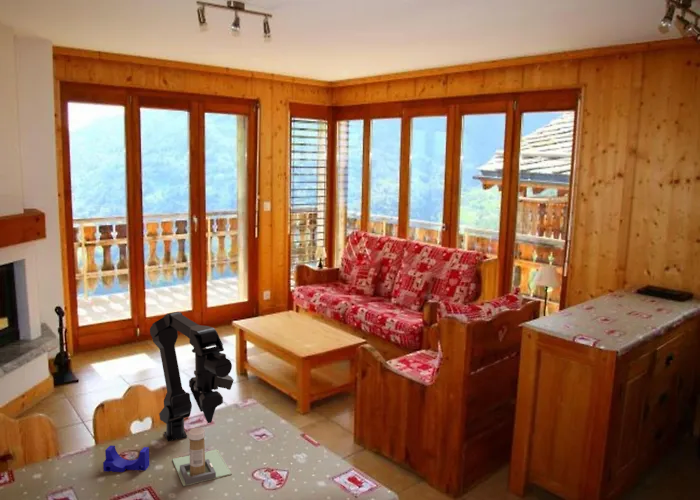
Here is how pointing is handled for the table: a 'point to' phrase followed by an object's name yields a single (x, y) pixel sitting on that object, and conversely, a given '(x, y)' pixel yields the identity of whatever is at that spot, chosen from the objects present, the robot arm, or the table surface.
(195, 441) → the sprinkles bottle
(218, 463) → the board
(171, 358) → the robot arm
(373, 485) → the table surface
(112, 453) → the cable clip
